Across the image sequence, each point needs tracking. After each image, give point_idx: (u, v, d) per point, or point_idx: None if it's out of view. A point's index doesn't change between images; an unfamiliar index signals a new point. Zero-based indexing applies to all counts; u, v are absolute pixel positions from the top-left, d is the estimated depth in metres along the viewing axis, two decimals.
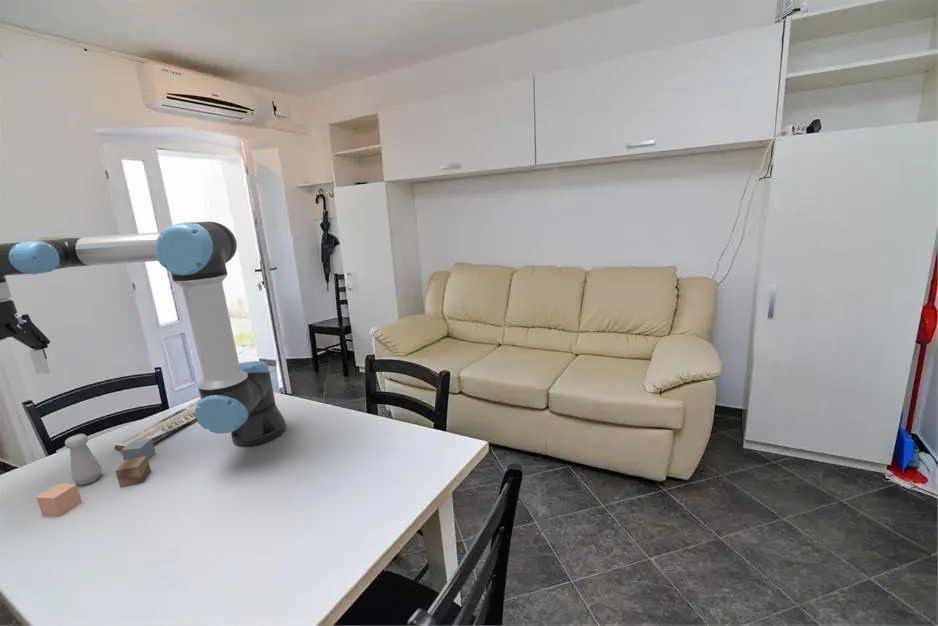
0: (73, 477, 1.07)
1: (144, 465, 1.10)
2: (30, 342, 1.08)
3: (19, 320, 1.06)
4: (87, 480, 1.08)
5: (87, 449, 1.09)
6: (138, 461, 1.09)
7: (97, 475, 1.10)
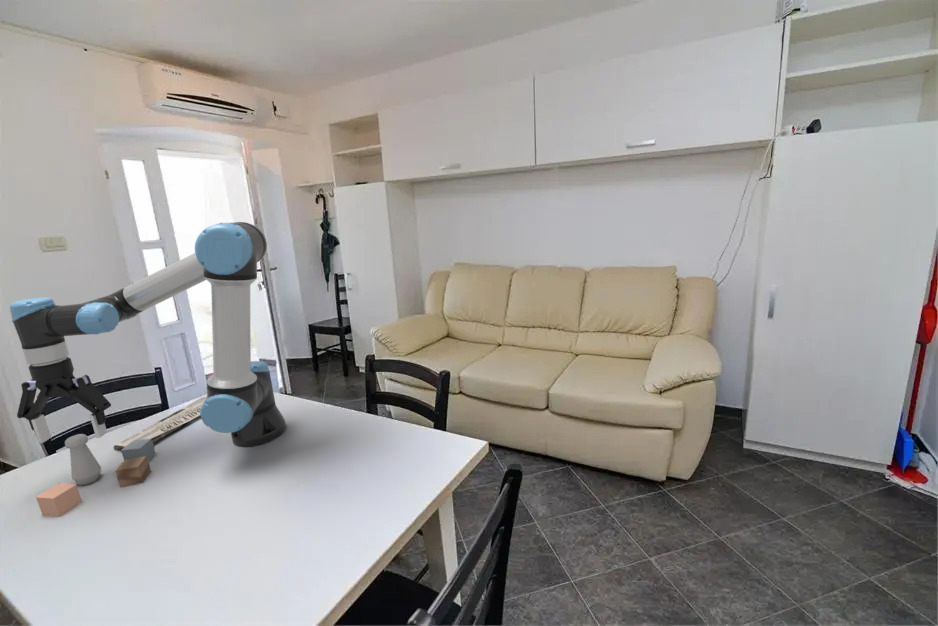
0: (73, 477, 1.07)
1: (144, 465, 1.10)
2: None
3: (76, 382, 1.04)
4: (87, 480, 1.08)
5: (87, 449, 1.09)
6: (138, 461, 1.09)
7: (97, 475, 1.10)
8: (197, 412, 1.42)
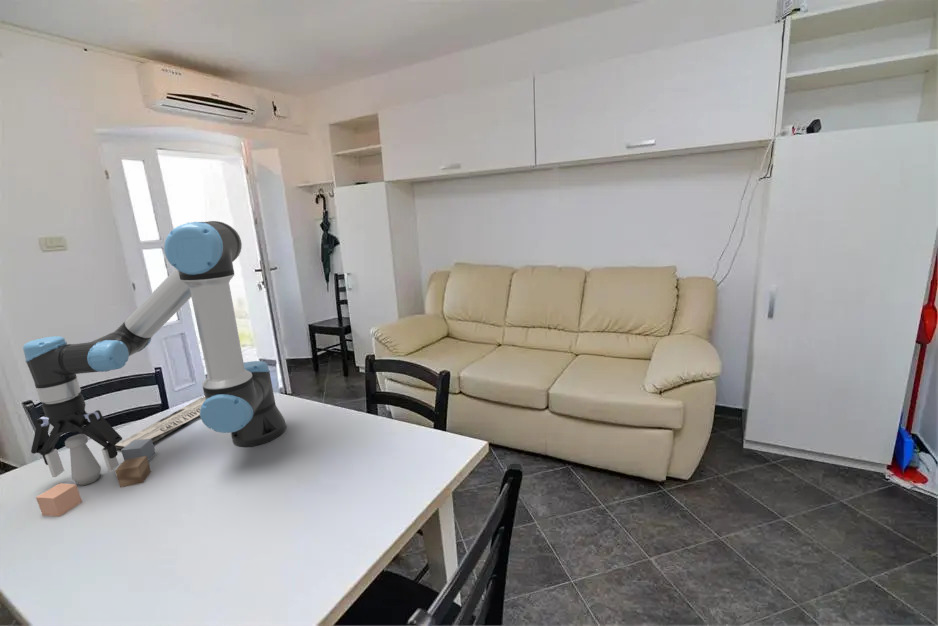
0: (73, 477, 1.07)
1: (144, 465, 1.10)
2: None
3: (88, 418, 1.06)
4: (87, 480, 1.08)
5: (87, 449, 1.09)
6: (138, 461, 1.09)
7: (97, 475, 1.10)
8: (197, 412, 1.42)
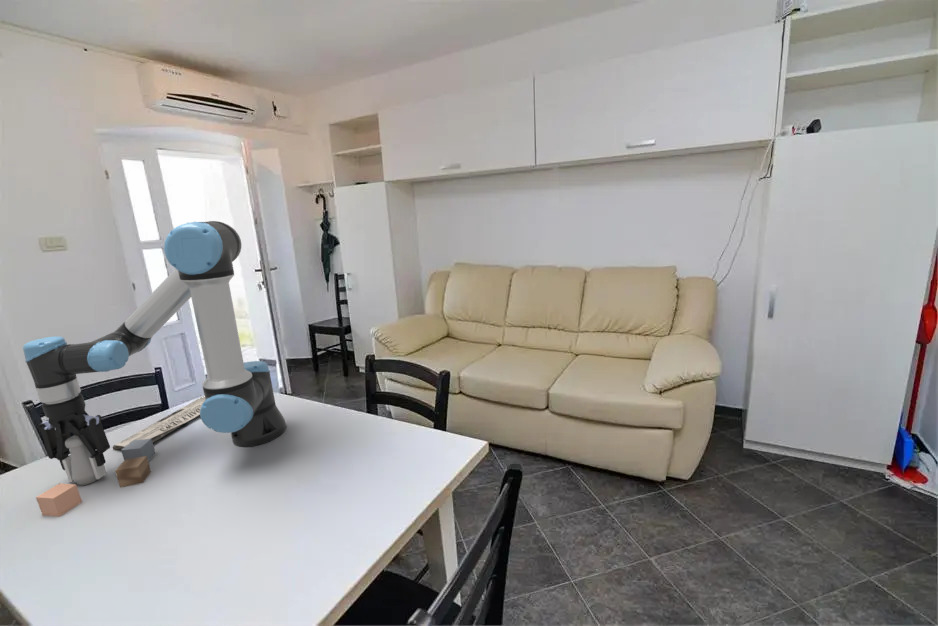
0: (73, 477, 1.07)
1: (144, 465, 1.10)
2: None
3: (87, 420, 1.06)
4: (87, 480, 1.08)
5: (87, 449, 1.09)
6: (138, 461, 1.09)
7: None
8: (196, 412, 1.42)
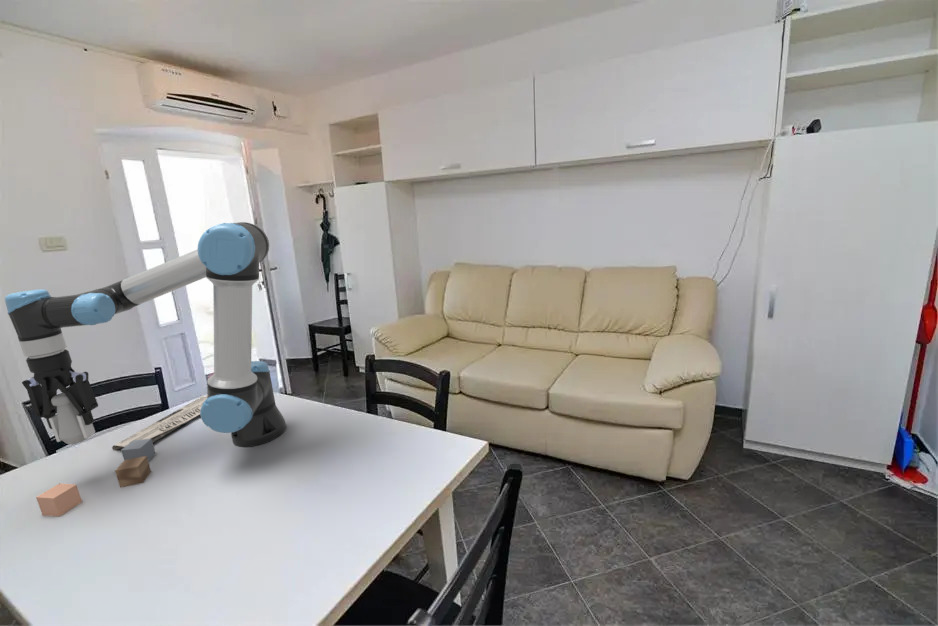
0: (61, 435, 1.04)
1: (144, 465, 1.10)
2: None
3: (74, 377, 1.03)
4: (75, 439, 1.05)
5: (74, 407, 1.06)
6: (138, 461, 1.09)
7: None
8: (195, 412, 1.42)
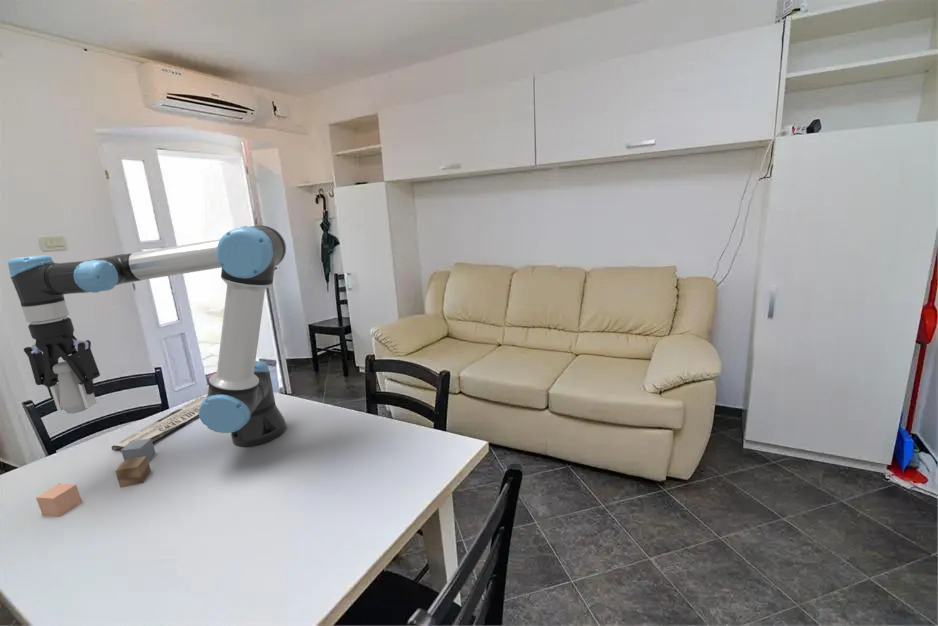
0: (62, 404, 1.03)
1: (144, 465, 1.10)
2: None
3: (76, 345, 1.02)
4: (76, 408, 1.04)
5: (76, 376, 1.05)
6: (138, 461, 1.09)
7: None
8: (195, 412, 1.42)
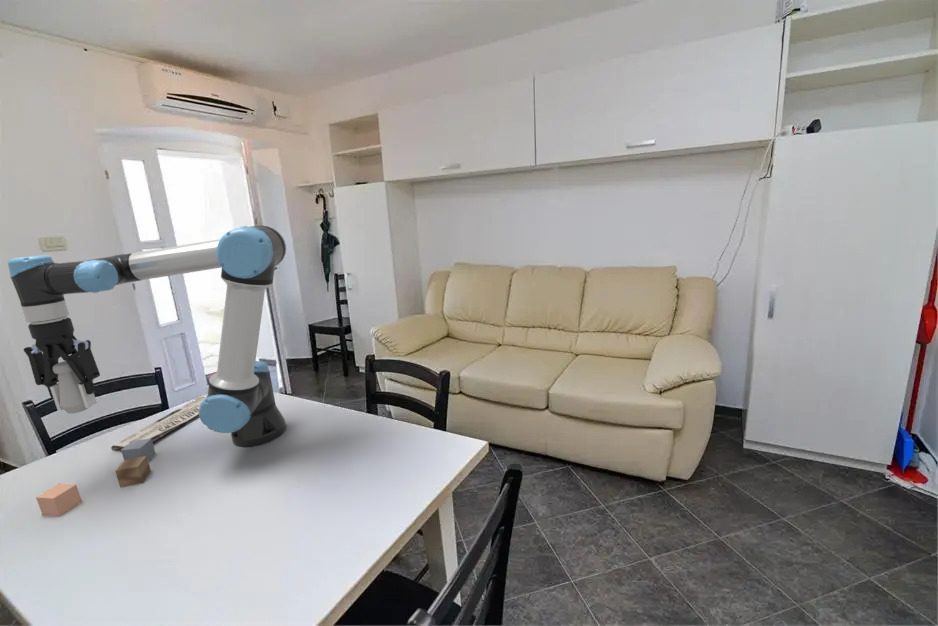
0: (62, 404, 1.03)
1: (144, 465, 1.10)
2: None
3: (76, 345, 1.02)
4: (76, 408, 1.04)
5: (76, 376, 1.05)
6: (138, 461, 1.09)
7: None
8: (194, 412, 1.43)
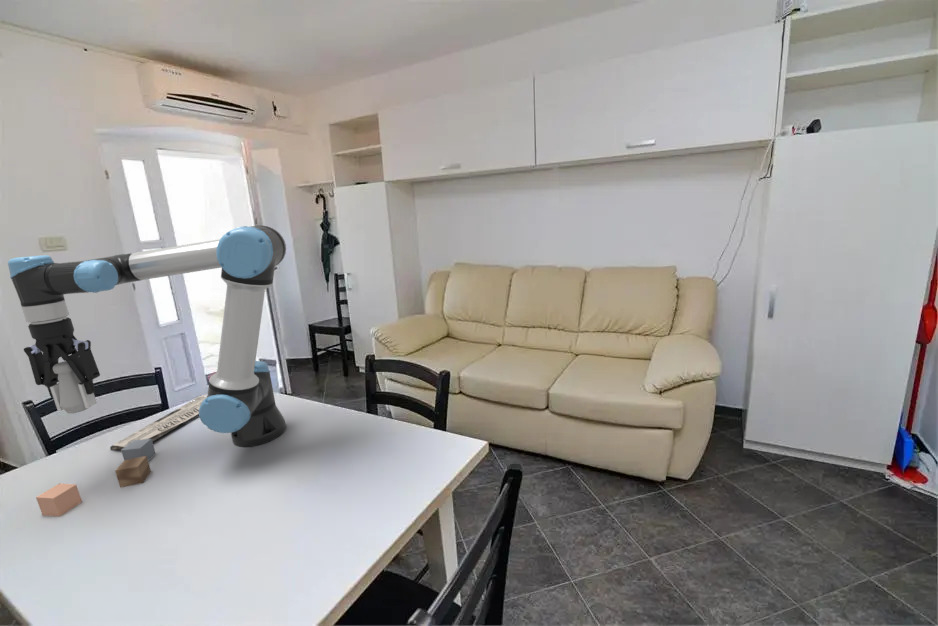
0: (62, 404, 1.03)
1: (144, 465, 1.10)
2: None
3: (76, 345, 1.02)
4: (76, 408, 1.04)
5: (76, 376, 1.05)
6: (138, 461, 1.09)
7: None
8: (194, 412, 1.43)
